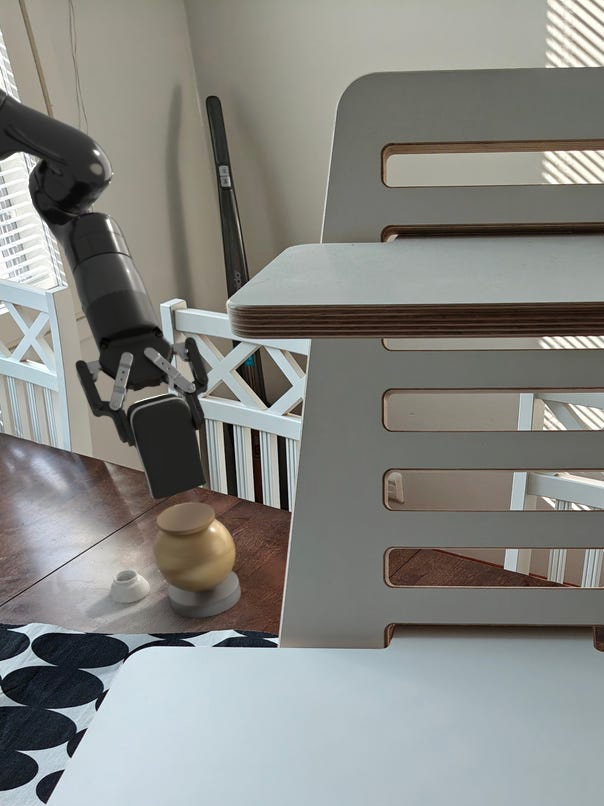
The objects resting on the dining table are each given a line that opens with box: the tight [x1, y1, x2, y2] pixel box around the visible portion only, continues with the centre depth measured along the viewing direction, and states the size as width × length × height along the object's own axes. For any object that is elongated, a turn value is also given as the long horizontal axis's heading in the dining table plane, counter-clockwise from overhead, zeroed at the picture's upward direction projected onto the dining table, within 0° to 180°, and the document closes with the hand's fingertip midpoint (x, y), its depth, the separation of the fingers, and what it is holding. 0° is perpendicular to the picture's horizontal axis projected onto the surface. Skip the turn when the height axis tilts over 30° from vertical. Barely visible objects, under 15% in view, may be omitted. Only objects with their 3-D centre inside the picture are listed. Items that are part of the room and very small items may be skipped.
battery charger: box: [126, 392, 207, 500], centre depth 115 cm, size 7×4×11 cm, turn 124°
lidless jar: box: [109, 569, 151, 604], centre depth 128 cm, size 5×3×5 cm
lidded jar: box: [152, 501, 242, 619], centre depth 124 cm, size 10×10×12 cm
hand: (166, 435), depth 112 cm, fingers closed on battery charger, 7 cm apart
